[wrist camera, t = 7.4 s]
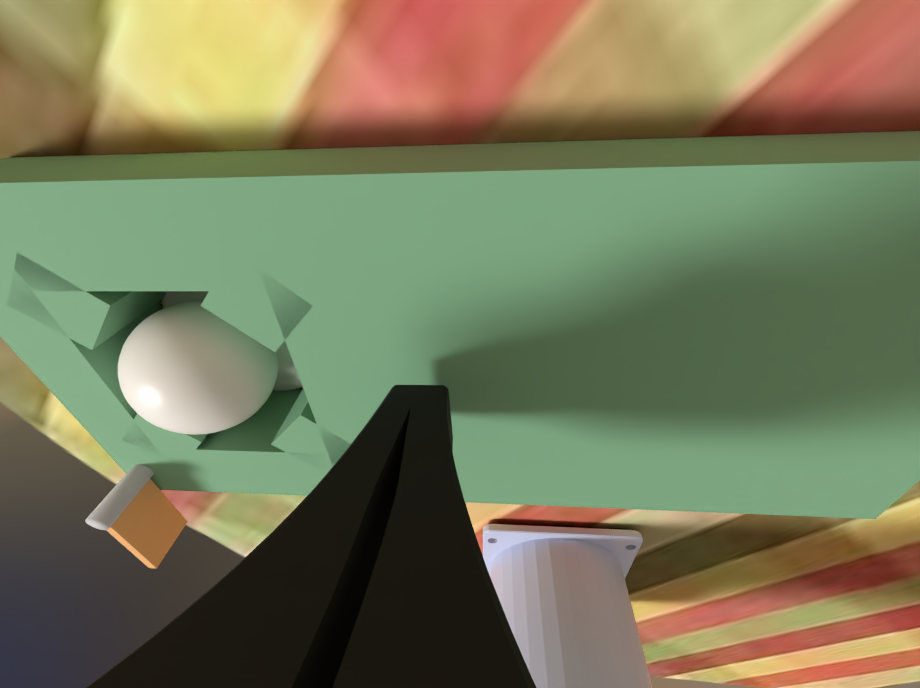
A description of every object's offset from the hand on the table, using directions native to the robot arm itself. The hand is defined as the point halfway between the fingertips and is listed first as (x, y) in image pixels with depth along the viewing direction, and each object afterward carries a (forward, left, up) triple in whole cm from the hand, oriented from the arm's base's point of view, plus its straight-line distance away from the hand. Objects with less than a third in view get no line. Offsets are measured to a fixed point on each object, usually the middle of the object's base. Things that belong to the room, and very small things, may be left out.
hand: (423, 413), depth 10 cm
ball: (0, +7, -2) cm, 7 cm away
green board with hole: (-1, -1, -4) cm, 4 cm away
